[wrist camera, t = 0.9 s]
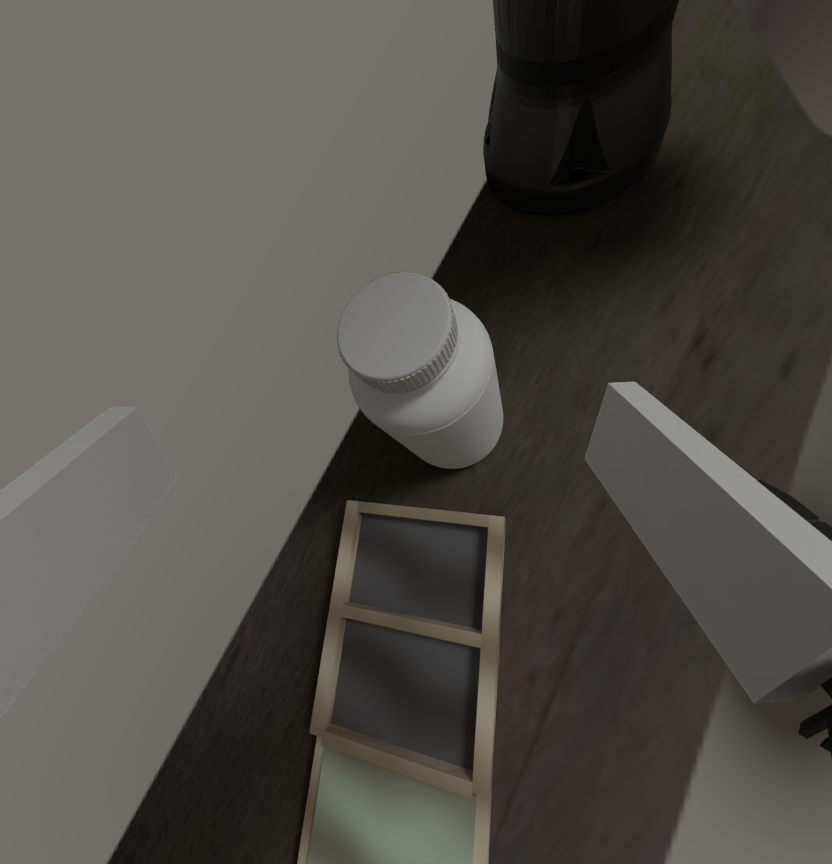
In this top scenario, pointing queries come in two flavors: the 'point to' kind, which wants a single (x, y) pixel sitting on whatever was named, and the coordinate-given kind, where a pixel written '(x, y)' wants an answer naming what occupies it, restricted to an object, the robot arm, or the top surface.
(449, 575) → the tray
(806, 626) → the robot arm
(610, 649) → the top surface
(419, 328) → the pill bottle
